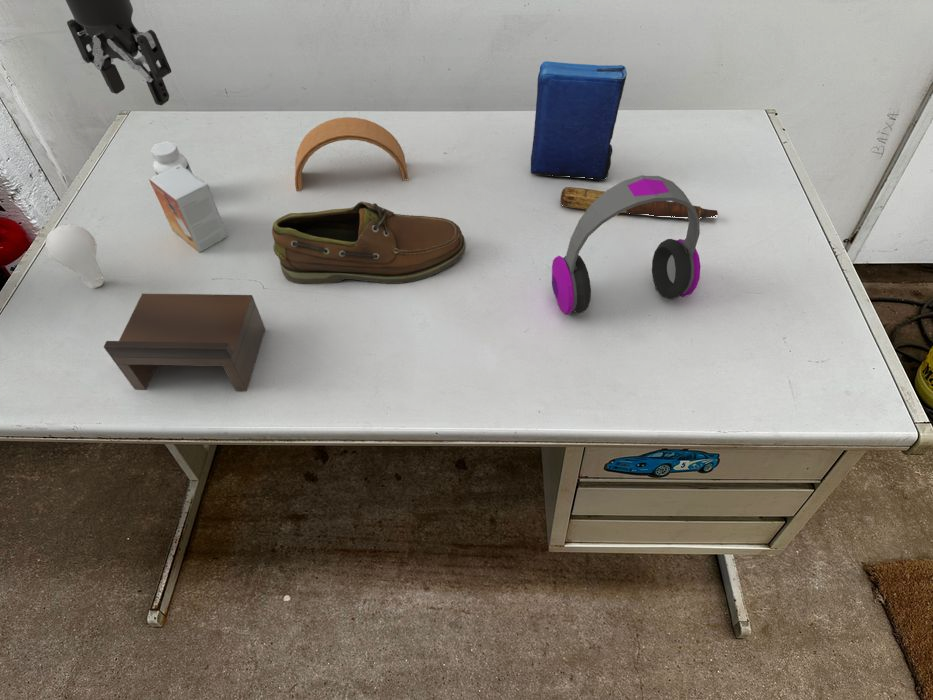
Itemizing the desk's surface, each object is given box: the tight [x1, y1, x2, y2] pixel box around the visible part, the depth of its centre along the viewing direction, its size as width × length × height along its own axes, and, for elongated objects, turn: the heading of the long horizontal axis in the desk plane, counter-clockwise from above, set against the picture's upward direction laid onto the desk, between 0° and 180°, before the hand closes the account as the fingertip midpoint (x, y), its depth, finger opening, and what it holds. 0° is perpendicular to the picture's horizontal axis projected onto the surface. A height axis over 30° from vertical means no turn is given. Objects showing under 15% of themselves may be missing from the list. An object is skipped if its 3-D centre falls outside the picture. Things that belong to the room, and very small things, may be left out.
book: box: [530, 60, 628, 180], centre depth 103 cm, size 14×5×20 cm, turn 82°
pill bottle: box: [150, 141, 194, 175], centre depth 103 cm, size 5×5×10 cm
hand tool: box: [560, 186, 719, 219], centre depth 103 cm, size 4×26×3 cm, turn 79°
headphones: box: [551, 175, 702, 315], centre depth 84 cm, size 21×9×20 cm, turn 101°
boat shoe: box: [271, 201, 466, 285], centre depth 92 cm, size 10×29×10 cm, turn 102°
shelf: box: [103, 293, 266, 392], centre depth 81 cm, size 11×15×9 cm
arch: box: [294, 116, 409, 192], centre depth 107 cm, size 6×20×10 cm, turn 98°
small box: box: [148, 164, 228, 253], centre depth 96 cm, size 8×6×10 cm
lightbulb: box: [45, 223, 105, 289], centre depth 89 cm, size 6×6×11 cm
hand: (140, 96), depth 92 cm, fingers open, 8 cm apart
